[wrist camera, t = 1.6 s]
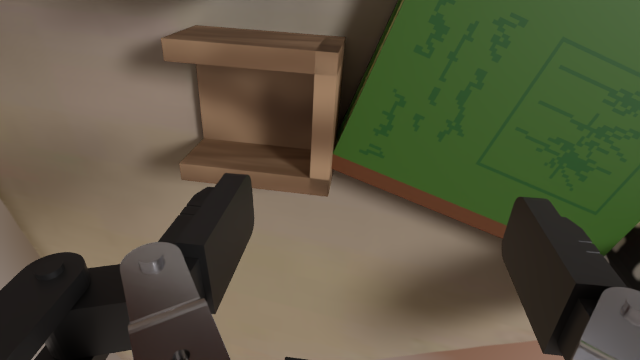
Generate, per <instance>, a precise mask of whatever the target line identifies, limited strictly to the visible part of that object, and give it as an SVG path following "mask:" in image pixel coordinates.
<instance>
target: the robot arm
mask: <svg viewBox="0 0 640 360" xmlns="http://www.w3.org/2000/svg"><path fill="white" fill-rule="evenodd" d="M253 226H254V208H253V196H252V183H251V178H250V176H249V175H247V174H234V173H225V174H224V175H223V176H222V177H221V179H220V180H219V182H218V183H217V184H216V186H215V187H207V188H205V189H203V190H202V191H200V192H198V193H197V194H195V195H194V196H193V197H192V199H191V200H190V201H189V203H188V204H187V207H185V208H184V209H183V210H182V212H181V213H180V215H178V217H177V218H176V219H175V221H174V222H173V223H172V224H171V226H170V227H169V228H168V230H167V231H166V232H165V233H164V235H163V236H162V237H161V239H160V240H159V241H158V242H155V243H149V244H146V245H143V246H140V247H138V248H136V249H134V250H132V251H131V252H130V253H128V254H127V255H126V256H125V257H124V259H123V260H122V262H121V264H118V265H110V266H102V267H95V268H87V266H86V263H85V261H84V259H83V257H82V256H81V255H79V254H76V253H71V252H63V253H56V254H52V255H48V256H45V257H43V258H40V259H38V260H36V261H34V262H32V263H31V264H29V265H28V266H26V267H25V268H24V269H23V270H21V271H20V272H19V273H18V274H17V275H16V276H15V277H14V278H13V279H12V280H11V281H10V282H9V283H8V284H7V285H6V286H4V287H3V288H2V290H0V360H31V359H32V358H33V356H34V355H35V354H36V353H37V351H38V350H39V349H40V348H41V346H42V345H43V344H44V343H45V344H46V345H45V347H44V348H43V349H42V350H41V352H40V353H39V354H38V356H37V357H36V358H35V359H34V360H106V358H107V356H108V355H109V353H115V352H121V351H127V350H132V354H133V360H230V357H229V355H228V352H227V350H226V348H225V345H224V343H223V340H222V338H221V336H220V333H219V331H218V329H217V326H216V324H215V321H214V319H213V317H212V314H216V311H217V309H218V307H219V305H220V303H221V300H222V298H223V296H224V294H225V292H226V289H227V287H228V285H229V283H230V281H231V279H232V276H233V274H234V272H235V270H236V268H237V265H238V263H239V261H240V259H241V257H242V254H243V252H244V250H245V248H246V246H247V243H248V241H249V239H250V237H251V234H252V231H253ZM502 257H503V260H504V263H505V265H506V267H507V270H508V272H509V275H510V277H511V279H512V282H513V284H514V286H515V289H516V291H517V293H518V296H519V298H520V300H521V303H522V305H523V307H524V310H525V312H526V315H527V317H528V319H529V322H530V324H531V326H532V329H533V331H534V333H535V336H536V338H537V340H538V343H539V345H540V347H541V350H542V352H543V354H551V355H561V356H563V357H564V359H565V360H640V291H637V290H634V289H630V288H627V286H626V285H625V284H624V282H623V281H622V280H621V278H620V277H619V276H618V275H617V273H616V272H615V271H614V269H613V268H612V267H611V265H610V264H609V263H608V262H607V260H606V259H605V258H604V256H603V255H601V254H600V251H599V250H598V249H597V247H596V246H595V245H594V244H592V241H591V239H590V238H589V237H588V236H587V234H586V233H585V232H584V230H583V229H582V228H581V227H579V226H578V225H576V224H575V223H574V222H572V221H571V220H569V219H568V218H567V217H561V216H560V214H559V213H558V212H557V210H556V209H555V208H554V206H553V205H552V203H551V202H550V201H549V200H548V199H545V198H532V197H518V198H517V199H516V200H515V202H514V205H513V208H512V211H511V214H510V217H509V221H508V224H507V227H506V230H505V233H504V236H503V240H502ZM285 360H306V359H298V358H290V357H285Z"/></svg>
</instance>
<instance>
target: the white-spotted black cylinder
mask: <svg viewBox="0 0 640 360" xmlns="http://www.w3.org/2000/svg"><path fill="white" fill-rule="evenodd" d="M604 258H605V259H606V260H607V262H608V263H609V264H610V265H611V267H612V268H613V269H614V271H615V272H616V273H617V275H618V276H619V277H620V278H621V280H622V281H623V282H624V284H625V285H626V286H627V288H630V289H634V290H637V291H640V222H639V223H638V224H637V225H636V226H635V227H634V228H633V229H631V230H630V231H629V232H628V233H627V234H626V235H625V236H624V237H623V238H622V239H621V240H620V241H619V242H618V243H617V244H616V245H615V246H614V247H613V248H612V249H611V250H610V251H609V252H608V253H607V254H606V255H605V256H604Z"/></svg>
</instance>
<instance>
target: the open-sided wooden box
mask: <svg viewBox="0 0 640 360" xmlns="http://www.w3.org/2000/svg"><path fill="white" fill-rule="evenodd" d="M161 42H162V49H163V56H164V61H170V62H181V63H193V64H196V71H197V80H198V89H199V99H200V108H201V117H202V127H203V136H204V138H203V140H202V141H201V142H200V143H199V144H198V145H197V146H196V147H195V148H194V149H193V150H192V151H191V152H190V153H189V154H188V155H187V156H186V157H185V158H184V159H183V160H182V161H181V162H180V163H179V165H180V172H181V179H182V180H188V181H197V182H206V183H214V184H217V183H218V182H219V180H220V179H221V177H222V176H223V175H224V174H225V173H234V174H247V175H249V176H250V178H251V183H252V188H258V189H266V190H275V191H284V192H292V193H301V194H310V195H318V196H327V197H328V194H329V189H330V184H331V180H332V175H333V169H331V168H332V155H333V151H334V149H335V146H336V139H337V133H338V121H339V108H340V96H341V84H342V71H343V59H344V47H345V37H337V36H325V35H312V34H299V33H287V32H274V31H261V30H249V29H236V28H223V27H211V26H198V25H196V26H193V27H190V28H187V29H185V30H182V31H179V32H177V33H174V34H171V35H168V36H166V37H163V38H161Z"/></svg>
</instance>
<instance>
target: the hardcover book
mask: <svg viewBox="0 0 640 360" xmlns="http://www.w3.org/2000/svg"><path fill="white" fill-rule="evenodd" d="M331 169H333V170H336V171H338V172H341V173H343V174H346V175H348V176H351V177H353V178H355V179H358V180H360V181H363V182H365V183H368V184H370V185H373V186H375V187H377V188H380V189H382V190H385V191H387V192H390V193H392V194H395V195H397V196H399V197H402V198H404V199H407V200H409V201H412V202H414V203H417V204H419V205H421V206H424V207H426V208H429V209H431V210H434V211H436V212H439V213H441V214H443V215H446V216H448V217H451V218H453V219H456V220H458V221H461V222H463V223H466V224H468V225H470V226H473V227H475V228H478V229H480V230H483V231H485V232H488V233H490V234H492V235H495V236H497V237H500V238H502V239H503V236H504V233H505V230H506V227H507V224H508V221H509V217H510V214H511V211H512V208H513V205H514V202H515V200H516V199H517V198H518V197H532V198H545V199H548V200H549V201H550V202H551V203H552V205H553V206H554V208H555V209H556V210H557V212H558V213H559V214H560V216H561V217H567V218H568V219H569V220H571V221H572V222H574V223H575V224H576V225H578V226H579V227H581V228H582V229H583V230H584V232H585V233H586V234H587V236H588V237H589V238H590V239H591V241H592V244H594V245H595V246H596V247H597V249H598V250H599V251H600V254H601V255H603V256H605V255H606V254H607V253H608V252H609V251H610V250H611V249H612V248H613V247H614V246H615V245H616V244H617V243H618V242H619V241H620V240H621V239H622V238H623V237H624V236H625V235H626V234H627V233H628V232H629V231H630V230H631V229H633V228H634V227H635V226H636V225H637V224H638V223H639V222H640V0H398V2H397V4H396V6H395V8H394V10H393V13H392V15H391V17H390V19H389V21H388V24H387V26H386V28H385V30H384V32H383V34H382V37H381V39H380V41H379V43H378V45H377V48H376V50H375V52H374V54H373V56H372V58H371V61H370V63H369V65H368V67H367V69H366V71H365V74H364V76H363V78H362V80H361V82H360V85H359V87H358V89H357V91H356V93H355V95H354V98H353V100H352V102H351V104H350V106H349V109H348V111H347V113H346V115H345V117H344V119H343V122H342V124H341V126H340V128H339V130H338V133H337V139H336V146H335V149H334V151H333V155H332V168H331Z"/></svg>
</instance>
